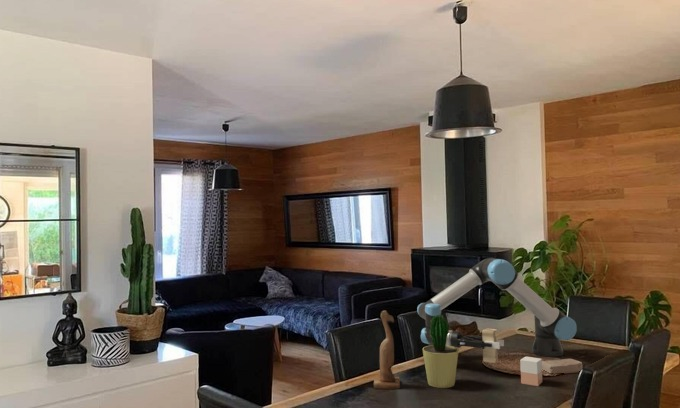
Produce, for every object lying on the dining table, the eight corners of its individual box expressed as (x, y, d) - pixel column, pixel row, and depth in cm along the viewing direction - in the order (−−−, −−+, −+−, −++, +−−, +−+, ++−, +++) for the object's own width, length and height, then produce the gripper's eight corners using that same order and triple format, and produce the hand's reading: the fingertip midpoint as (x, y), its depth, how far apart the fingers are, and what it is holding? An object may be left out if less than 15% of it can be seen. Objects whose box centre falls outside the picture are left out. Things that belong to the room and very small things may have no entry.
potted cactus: (452, 391, 211) (450, 318, 212) (417, 385, 219) (416, 315, 220) (464, 381, 224) (462, 312, 225) (431, 376, 232) (429, 309, 233)
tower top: (525, 367, 226) (525, 356, 227) (542, 370, 222) (541, 358, 222) (520, 371, 221) (520, 359, 221) (537, 374, 217) (536, 362, 217)
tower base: (525, 379, 226) (525, 367, 226) (542, 382, 222) (542, 370, 222) (521, 383, 221) (520, 371, 221) (538, 386, 216) (537, 374, 217)
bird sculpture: (401, 390, 215) (402, 313, 217) (373, 389, 216) (374, 312, 217) (399, 382, 226) (399, 308, 228) (372, 381, 227) (373, 308, 228)
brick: (550, 375, 232) (550, 364, 232) (540, 370, 240) (540, 359, 240) (583, 373, 235) (583, 362, 235) (572, 367, 243) (571, 357, 243)
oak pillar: (487, 359, 237) (485, 328, 237) (497, 360, 234) (496, 329, 235) (483, 361, 233) (482, 330, 233) (494, 363, 230) (493, 331, 230)
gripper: (460, 342, 251) (508, 348, 238) (445, 351, 236) (495, 357, 223) (459, 327, 251) (507, 332, 238) (444, 334, 237) (494, 340, 223)
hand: (501, 344), depth 231 cm, fingers closed on oak pillar, 5 cm apart
